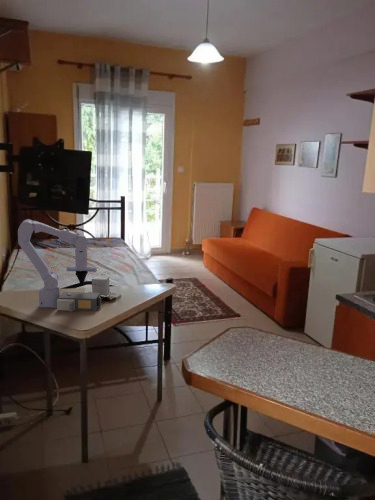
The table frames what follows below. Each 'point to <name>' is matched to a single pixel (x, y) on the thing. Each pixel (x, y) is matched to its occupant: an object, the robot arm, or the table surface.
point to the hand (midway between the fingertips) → (82, 285)
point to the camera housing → (83, 300)
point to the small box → (100, 285)
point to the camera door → (66, 304)
